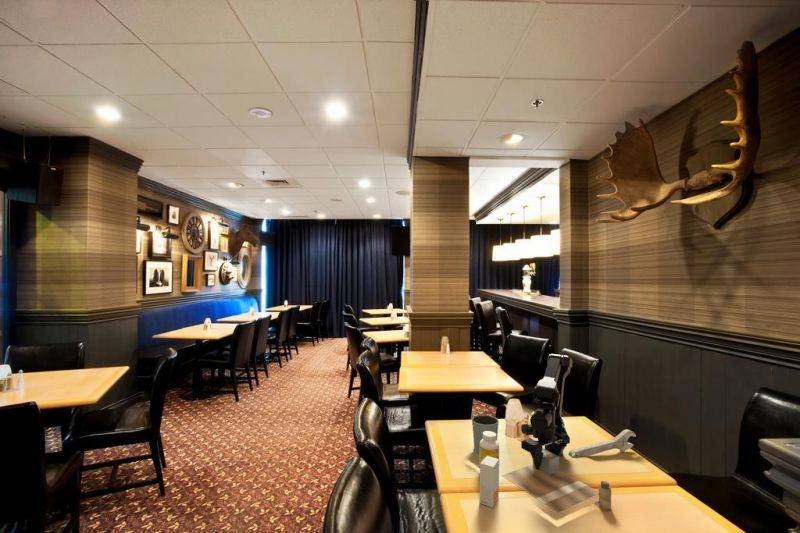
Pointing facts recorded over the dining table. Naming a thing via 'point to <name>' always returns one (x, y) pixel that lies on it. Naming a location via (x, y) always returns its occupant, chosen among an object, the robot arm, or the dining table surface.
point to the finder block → (549, 462)
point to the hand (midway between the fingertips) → (545, 466)
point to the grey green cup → (483, 428)
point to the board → (551, 487)
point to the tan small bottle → (605, 496)
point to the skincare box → (489, 481)
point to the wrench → (606, 445)
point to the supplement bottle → (489, 446)
